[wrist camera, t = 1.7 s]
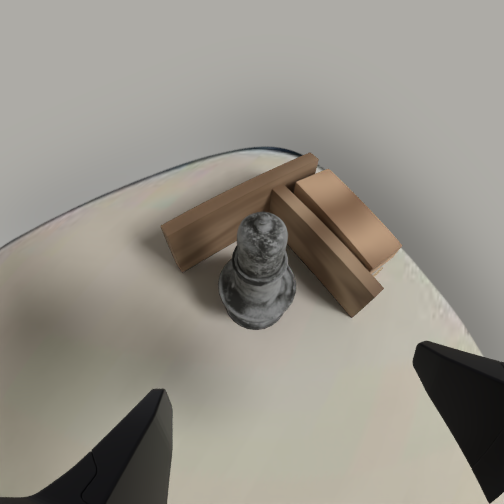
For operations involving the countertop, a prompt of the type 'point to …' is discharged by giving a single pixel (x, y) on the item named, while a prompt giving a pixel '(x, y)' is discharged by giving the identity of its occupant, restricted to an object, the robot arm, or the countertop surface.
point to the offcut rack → (297, 223)
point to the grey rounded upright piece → (258, 273)
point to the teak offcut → (348, 218)
